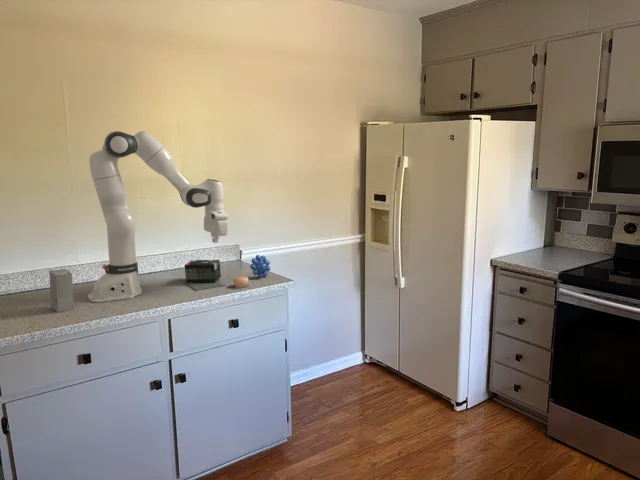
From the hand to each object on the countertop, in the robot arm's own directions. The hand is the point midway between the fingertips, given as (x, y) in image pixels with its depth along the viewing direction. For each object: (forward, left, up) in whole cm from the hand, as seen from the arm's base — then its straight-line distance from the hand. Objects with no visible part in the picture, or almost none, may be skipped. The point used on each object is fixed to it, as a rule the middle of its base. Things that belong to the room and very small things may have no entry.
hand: (215, 242), depth 232 cm
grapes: (+22, -4, -20) cm, 30 cm away
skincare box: (-67, +1, -20) cm, 70 cm away
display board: (-6, 0, -20) cm, 21 cm away
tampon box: (+2, +3, -15) cm, 15 cm away
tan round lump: (+7, -12, -20) cm, 24 cm away
